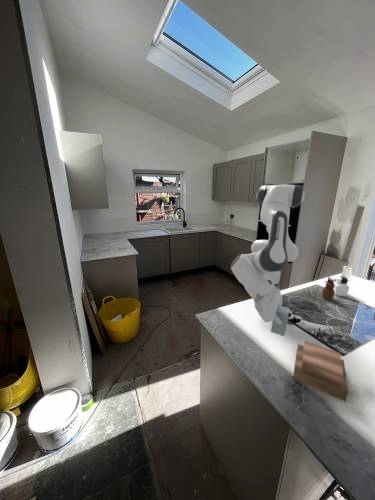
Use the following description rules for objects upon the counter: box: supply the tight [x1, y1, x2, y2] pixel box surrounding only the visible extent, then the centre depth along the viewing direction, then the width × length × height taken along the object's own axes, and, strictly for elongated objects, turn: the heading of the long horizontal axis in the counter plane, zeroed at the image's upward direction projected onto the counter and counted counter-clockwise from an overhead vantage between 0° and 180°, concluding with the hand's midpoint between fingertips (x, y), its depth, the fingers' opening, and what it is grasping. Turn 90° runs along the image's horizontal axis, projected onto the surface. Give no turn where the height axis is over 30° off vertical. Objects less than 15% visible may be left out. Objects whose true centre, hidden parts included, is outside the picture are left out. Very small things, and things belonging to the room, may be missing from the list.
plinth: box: [292, 340, 349, 402], centre depth 78 cm, size 16×16×8 cm
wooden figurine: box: [321, 276, 335, 301], centre depth 132 cm, size 7×6×15 cm
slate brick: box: [270, 305, 290, 337], centre depth 82 cm, size 5×5×10 cm
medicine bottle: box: [333, 275, 350, 297], centre depth 138 cm, size 7×7×12 cm
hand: (282, 318), depth 81 cm, fingers closed on slate brick, 5 cm apart
